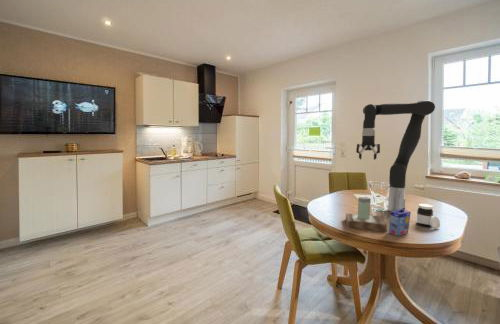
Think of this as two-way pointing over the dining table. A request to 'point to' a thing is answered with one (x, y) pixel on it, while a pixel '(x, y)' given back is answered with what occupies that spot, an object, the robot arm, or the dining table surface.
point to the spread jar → (427, 216)
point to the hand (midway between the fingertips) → (367, 159)
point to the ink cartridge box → (399, 222)
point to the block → (364, 208)
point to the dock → (366, 223)
